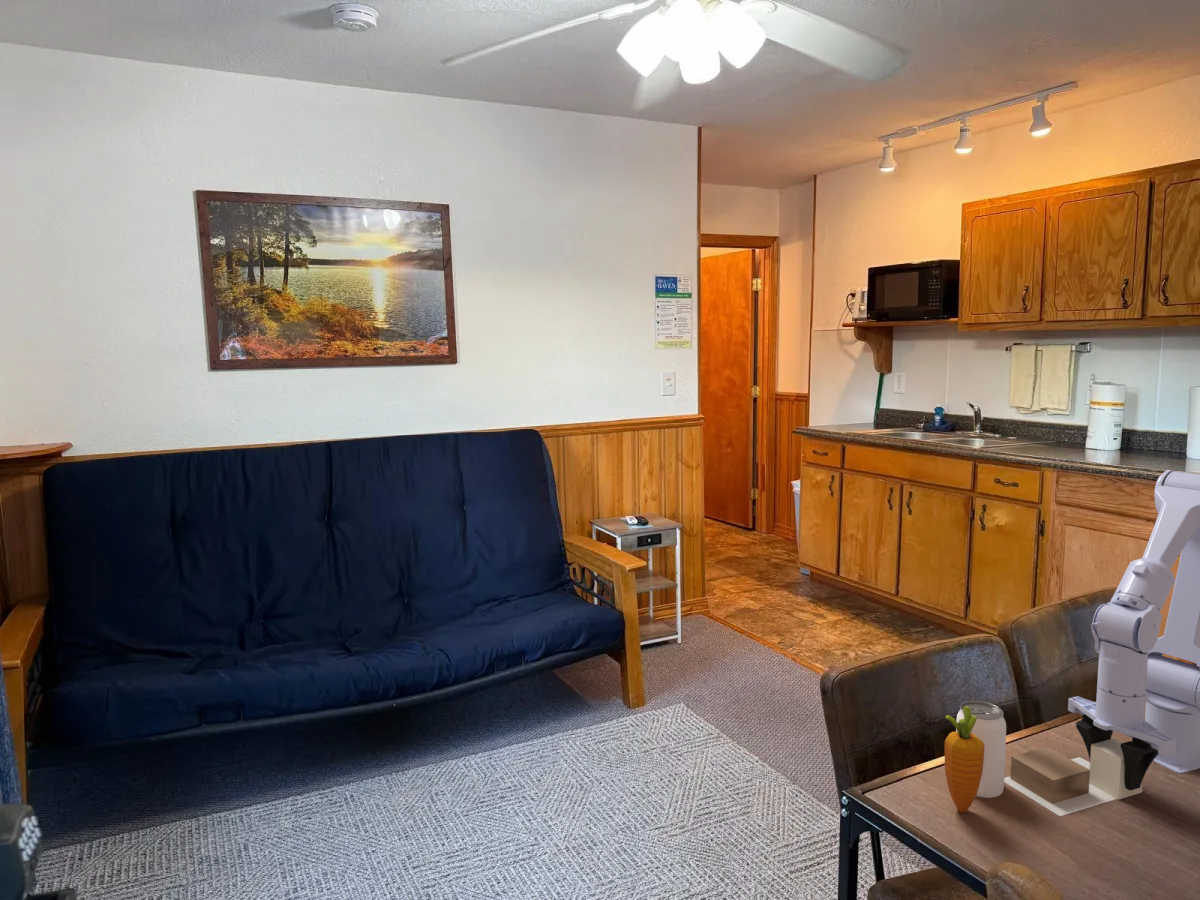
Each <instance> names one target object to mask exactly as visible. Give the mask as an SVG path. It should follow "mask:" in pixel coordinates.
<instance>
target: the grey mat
mask: <svg viewBox="0 0 1200 900" xmlns="http://www.w3.org/2000/svg"><path fill="white" fill-rule="evenodd" d="M1071 760H1072V761H1074V762H1076V763H1078V764H1080V765H1082V766H1084V767H1086V768H1087V769H1089V770H1090V761H1089V760H1086V759H1084V758H1082V757H1076V758H1071ZM1010 776H1011V775H1010ZM1010 776H1007V777H1004V784H1006V785H1008V786H1010V787H1011V788H1013V789H1015V791H1018V792H1020V793H1021V794H1022V795H1024V796H1025V797H1028V798H1029V799H1031V800H1032V801H1034V802H1035V803H1037V804H1039V805H1040V806H1042V807H1044V808H1046V809H1047V810H1048V811H1050V812H1052V813H1053V814H1055V815H1056V816H1058V817H1063V816H1067V815H1069V814H1072V813H1075V812H1079V811H1082V810H1086V809H1088V808H1092V807H1096V806H1099V805H1101V804H1105V803H1108V802H1112V801H1116V800H1117V799H1116V798H1115V797H1113V796H1111V795H1109V794H1107V793H1106V792H1104V791H1102V790H1100V789H1098V788H1097V787H1095V786H1093V785H1091V784H1089V793H1087V794H1084V795H1080V796H1077V797H1074V798H1070V799H1067V800H1063V801H1060V802H1057V803H1053V804H1051V803H1050V802H1048V801H1046V800H1045V799H1043V798H1041V797H1040V796H1038V795H1036V794H1035V793H1033V792H1031V791H1030V790H1028V789H1027V788H1025V787H1023V786H1022V785H1020V784H1018V783H1017V782H1015V781H1013V780H1012V779H1010ZM1141 792H1144V790H1143V789H1142V790H1141Z"/></svg>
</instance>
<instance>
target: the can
mask: <svg viewBox="0 0 1200 900" xmlns="http://www.w3.org/2000/svg"><path fill="white" fill-rule="evenodd" d="M965 706H967V707H969V708H971V715H974V716H975V717H976V718H977V719H976V722H975V725H974V727H973V729H972V731H971V733H972V734H975V735H976V736H977V737H978V738H979V739H980V740H981V741H982V742H983V743H984V762H983V771H982V777H981V781H980V785H979V788H978V792H977V795H976V797H978V798H986V799H987V798H988V799H989V798H990V799H991V798H996V797H999V796H1001V795H1002V794H1003V792H1004V788H1005V782H1004V778H1005V773H1006V771H1005V769H1006V768H1005V767H1006V766H1005V765H1006V745H1007V744H1006V743H1007V742H1006V741H1007V722H1006V720H1005V718H1004V712H1003V711H1004V710H1002V709H1001V708H1000V707H999V706H997V705H995V704H993V703H989V702H986V701H981V700H980V701H979V700H970V701H965V702H963V703H961V705H960V706H959V710H958V713H957V715H956V721H957V723H958V722H959V720H960V719H964V712H963V707H965ZM955 732H957V729H956V728H955Z"/></svg>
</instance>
